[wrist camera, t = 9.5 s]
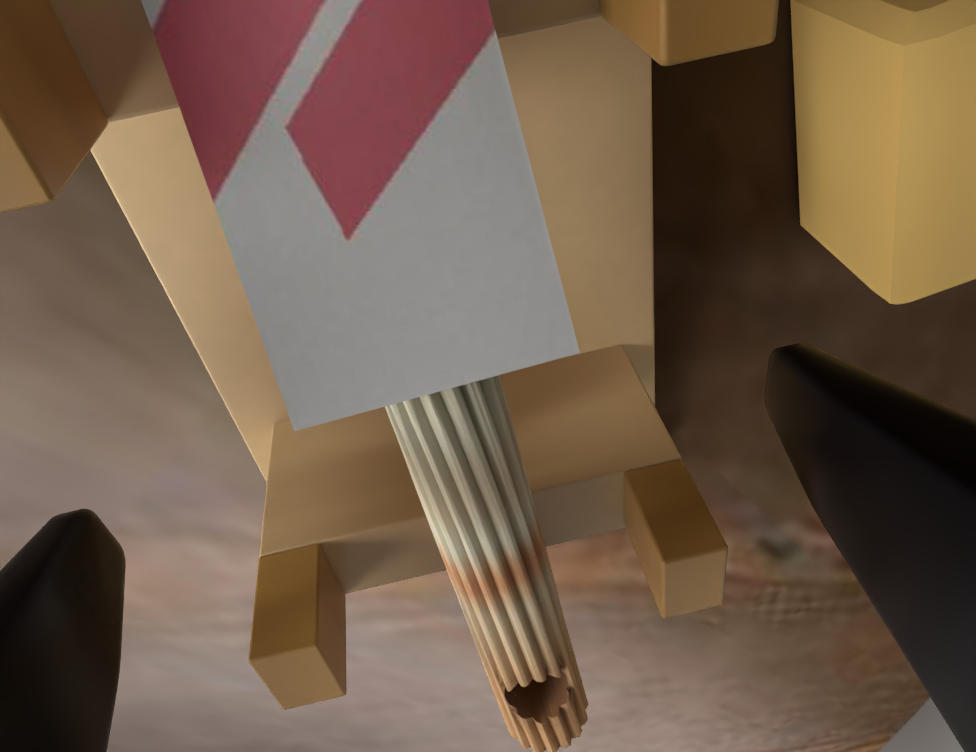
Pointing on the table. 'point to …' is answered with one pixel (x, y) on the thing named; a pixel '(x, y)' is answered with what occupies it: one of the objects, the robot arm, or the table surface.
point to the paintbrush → (397, 273)
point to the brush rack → (369, 435)
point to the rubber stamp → (889, 139)
